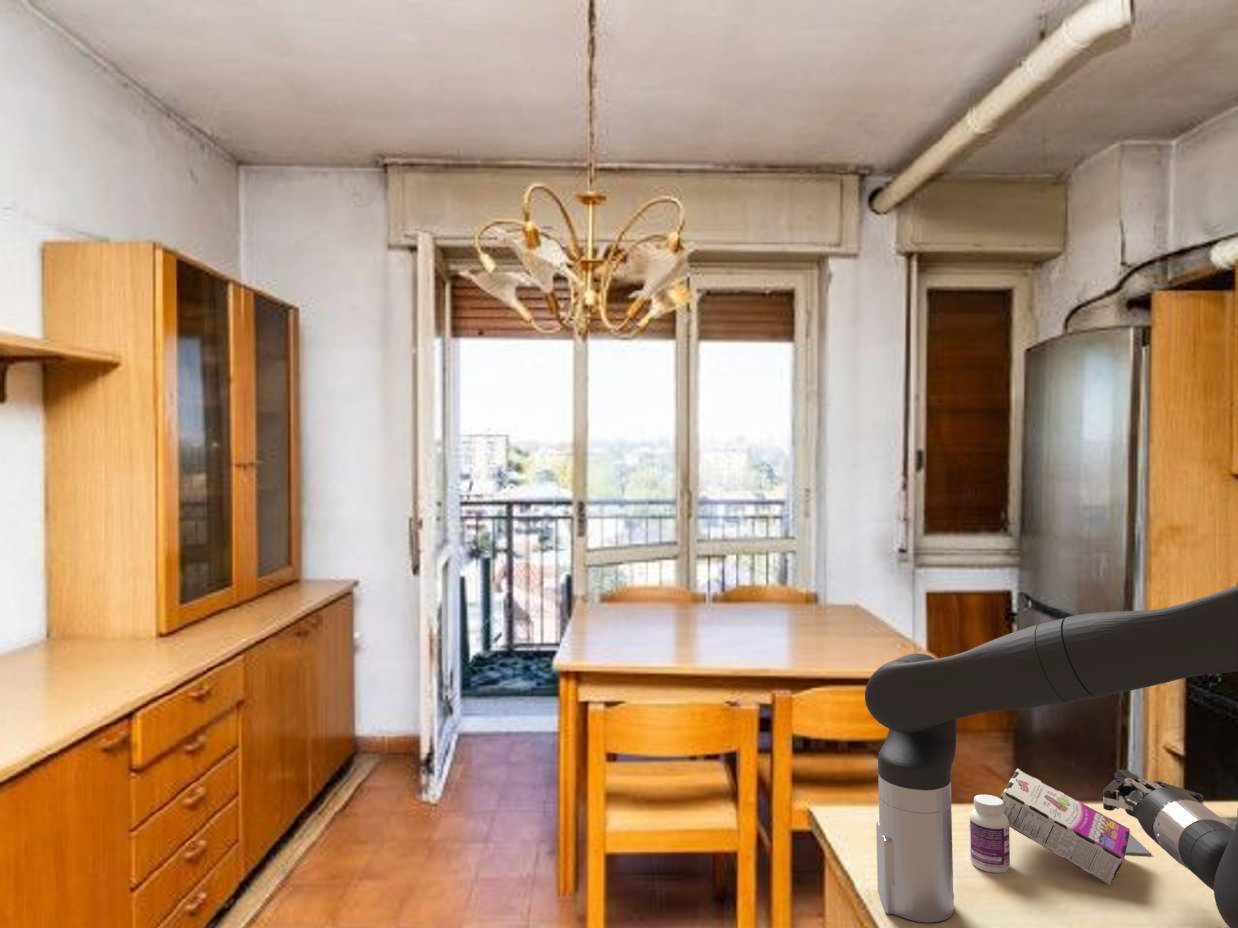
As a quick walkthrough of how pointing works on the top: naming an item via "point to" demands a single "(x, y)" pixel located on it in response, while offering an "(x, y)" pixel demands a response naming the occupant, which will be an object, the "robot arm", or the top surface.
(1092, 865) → the candy bar box
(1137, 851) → the mat
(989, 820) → the pill bottle
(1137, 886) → the top surface
